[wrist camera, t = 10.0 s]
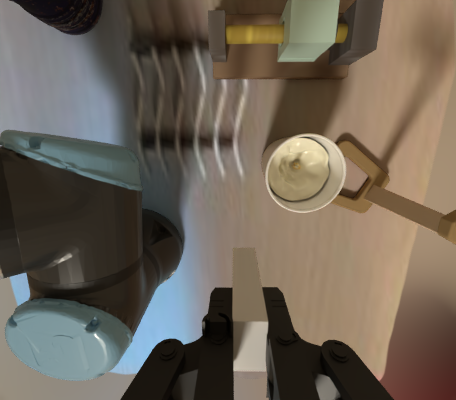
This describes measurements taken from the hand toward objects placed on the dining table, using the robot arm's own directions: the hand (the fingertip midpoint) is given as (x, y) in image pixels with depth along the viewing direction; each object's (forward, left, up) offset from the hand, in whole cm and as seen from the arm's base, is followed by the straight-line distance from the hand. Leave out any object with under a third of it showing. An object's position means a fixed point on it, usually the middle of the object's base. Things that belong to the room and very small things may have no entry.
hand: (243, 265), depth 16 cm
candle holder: (+8, +4, -27) cm, 28 cm away
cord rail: (+6, +21, -26) cm, 34 cm away
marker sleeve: (+8, +21, -23) cm, 32 cm away
